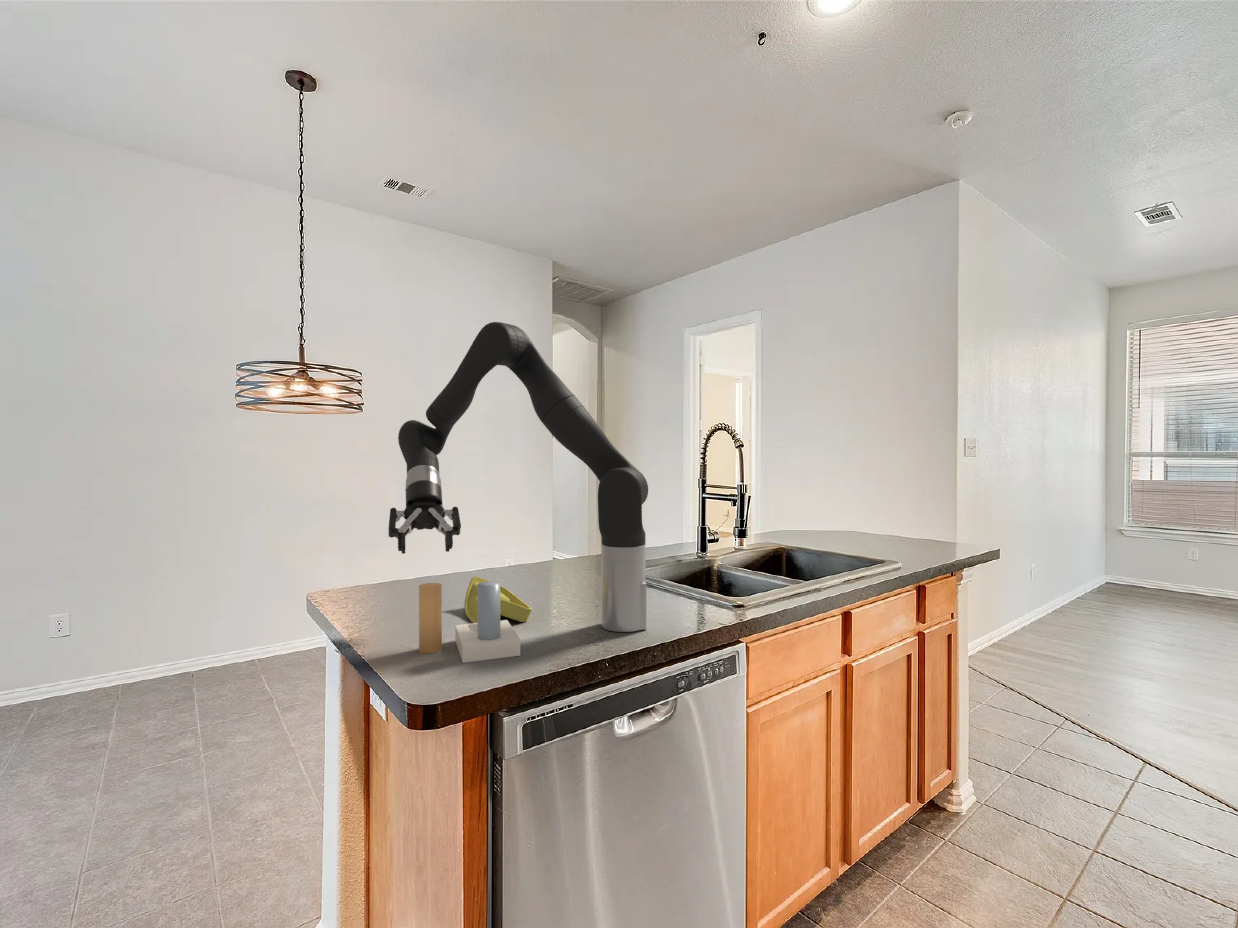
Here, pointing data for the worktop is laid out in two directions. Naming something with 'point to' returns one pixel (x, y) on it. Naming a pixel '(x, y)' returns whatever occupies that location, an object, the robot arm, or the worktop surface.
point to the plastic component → (508, 603)
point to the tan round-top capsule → (430, 618)
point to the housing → (487, 630)
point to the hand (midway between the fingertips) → (426, 550)
